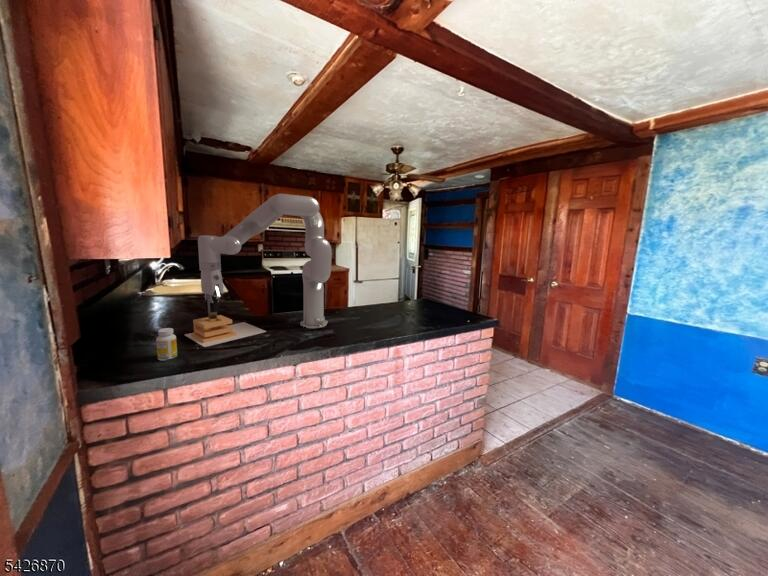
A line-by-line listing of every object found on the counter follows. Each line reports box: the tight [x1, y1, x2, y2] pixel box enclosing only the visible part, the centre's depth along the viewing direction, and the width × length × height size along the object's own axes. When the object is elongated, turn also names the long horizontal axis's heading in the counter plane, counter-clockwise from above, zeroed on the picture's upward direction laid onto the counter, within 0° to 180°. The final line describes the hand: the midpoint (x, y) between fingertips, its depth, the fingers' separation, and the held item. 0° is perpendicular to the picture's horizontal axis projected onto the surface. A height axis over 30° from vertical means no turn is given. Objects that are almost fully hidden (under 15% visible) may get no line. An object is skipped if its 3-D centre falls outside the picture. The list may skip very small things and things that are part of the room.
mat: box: [184, 321, 267, 348], centre depth 134 cm, size 20×26×1 cm
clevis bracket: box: [190, 314, 236, 343], centre depth 129 cm, size 12×13×7 cm
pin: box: [207, 293, 218, 319], centre depth 127 cm, size 3×3×10 cm
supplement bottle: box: [155, 327, 178, 362], centre depth 107 cm, size 6×6×10 cm
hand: (212, 310), depth 128 cm, fingers closed on pin, 3 cm apart
